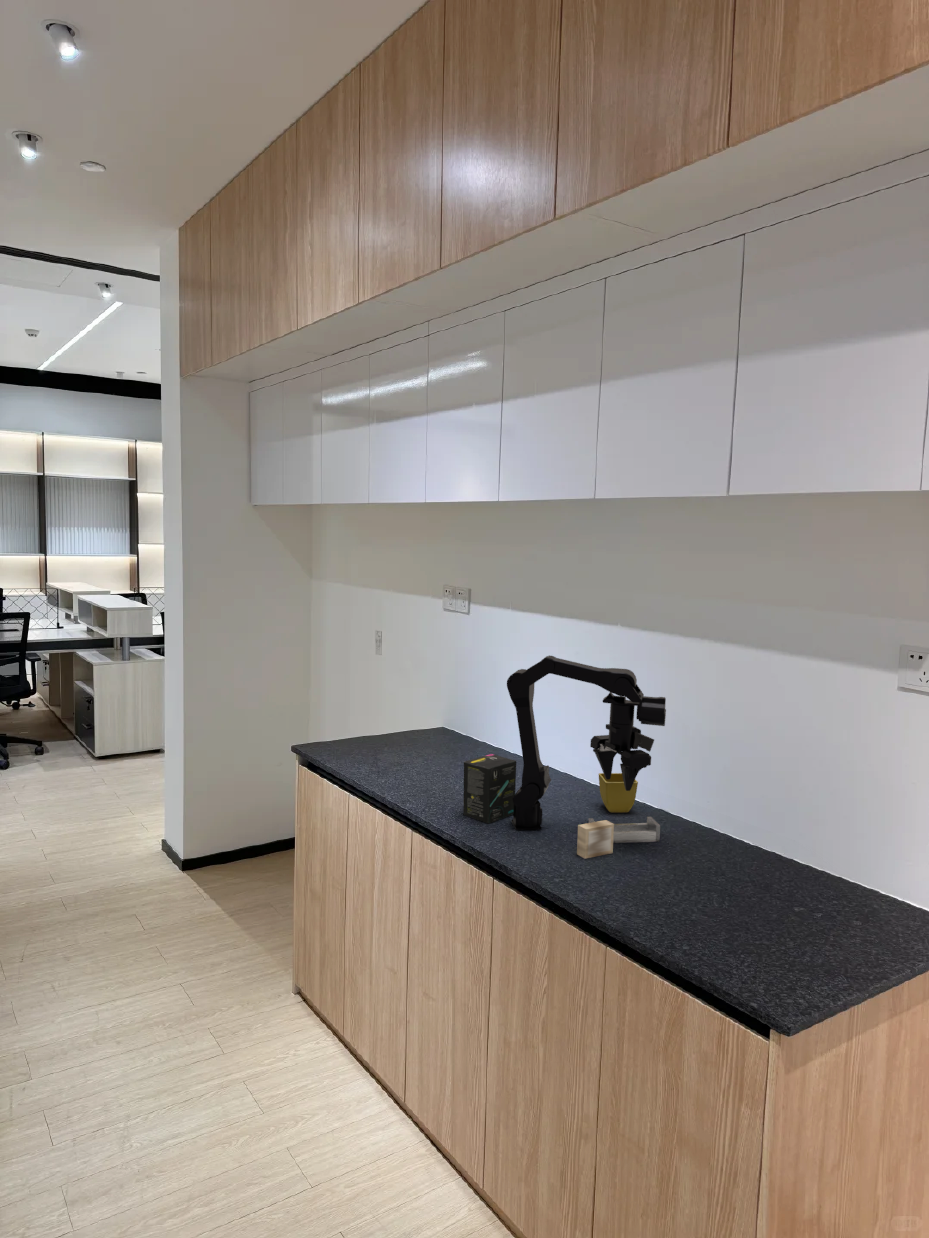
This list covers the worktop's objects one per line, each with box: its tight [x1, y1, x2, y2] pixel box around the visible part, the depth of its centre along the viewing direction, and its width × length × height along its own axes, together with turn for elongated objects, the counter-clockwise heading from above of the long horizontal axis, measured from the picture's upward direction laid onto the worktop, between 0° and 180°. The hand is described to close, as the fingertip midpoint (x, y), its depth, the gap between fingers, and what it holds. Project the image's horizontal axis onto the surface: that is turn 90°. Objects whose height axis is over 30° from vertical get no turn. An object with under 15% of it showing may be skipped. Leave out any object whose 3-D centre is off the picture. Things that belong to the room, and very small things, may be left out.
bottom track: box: [588, 816, 661, 844], centre depth 202 cm, size 16×6×4 cm, turn 98°
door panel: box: [576, 819, 615, 860], centre depth 192 cm, size 8×3×7 cm, turn 118°
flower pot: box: [598, 772, 639, 814], centre depth 223 cm, size 9×9×9 cm
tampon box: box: [462, 753, 517, 825], centre depth 216 cm, size 11×9×15 cm
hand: (617, 784), depth 202 cm, fingers open, 9 cm apart
